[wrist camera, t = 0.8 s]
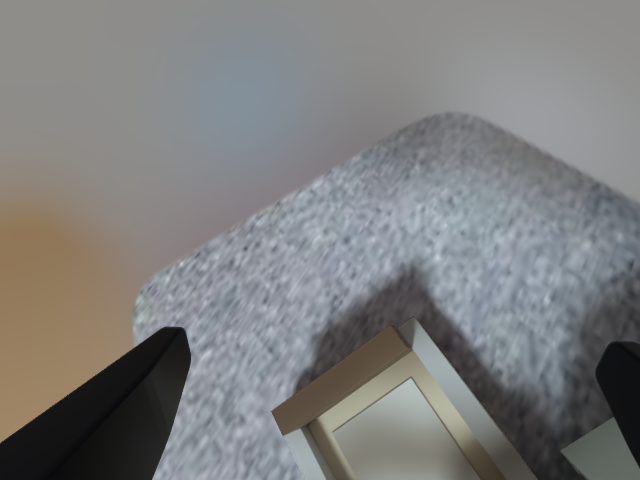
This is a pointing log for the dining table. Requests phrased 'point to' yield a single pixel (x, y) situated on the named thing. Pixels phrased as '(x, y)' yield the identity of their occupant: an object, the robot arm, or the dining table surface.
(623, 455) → the block
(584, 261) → the dining table surface
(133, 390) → the robot arm
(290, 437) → the open tray
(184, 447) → the dining table surface
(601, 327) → the dining table surface
